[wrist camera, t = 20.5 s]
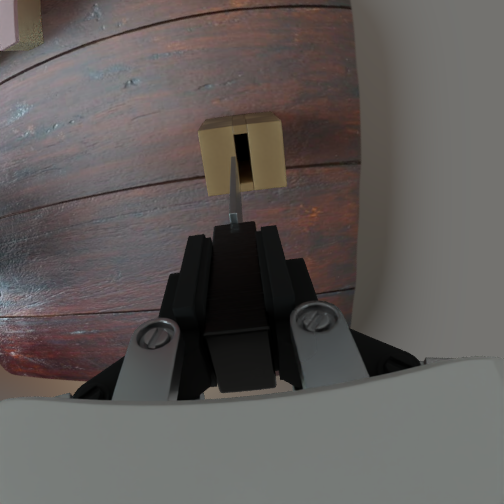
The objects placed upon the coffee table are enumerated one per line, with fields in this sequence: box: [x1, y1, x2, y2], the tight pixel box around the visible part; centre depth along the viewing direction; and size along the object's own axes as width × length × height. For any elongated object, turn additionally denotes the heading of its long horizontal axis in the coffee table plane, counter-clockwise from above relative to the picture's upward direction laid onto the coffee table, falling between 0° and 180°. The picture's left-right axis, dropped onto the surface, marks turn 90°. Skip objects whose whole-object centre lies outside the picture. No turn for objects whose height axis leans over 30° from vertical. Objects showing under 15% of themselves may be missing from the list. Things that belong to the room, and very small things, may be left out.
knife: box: [203, 156, 276, 393], centre depth 15 cm, size 2×3×16 cm, turn 6°
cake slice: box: [0, 0, 44, 51], centre depth 20 cm, size 2×9×6 cm, turn 6°
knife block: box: [198, 111, 287, 196], centre depth 30 cm, size 7×6×8 cm
